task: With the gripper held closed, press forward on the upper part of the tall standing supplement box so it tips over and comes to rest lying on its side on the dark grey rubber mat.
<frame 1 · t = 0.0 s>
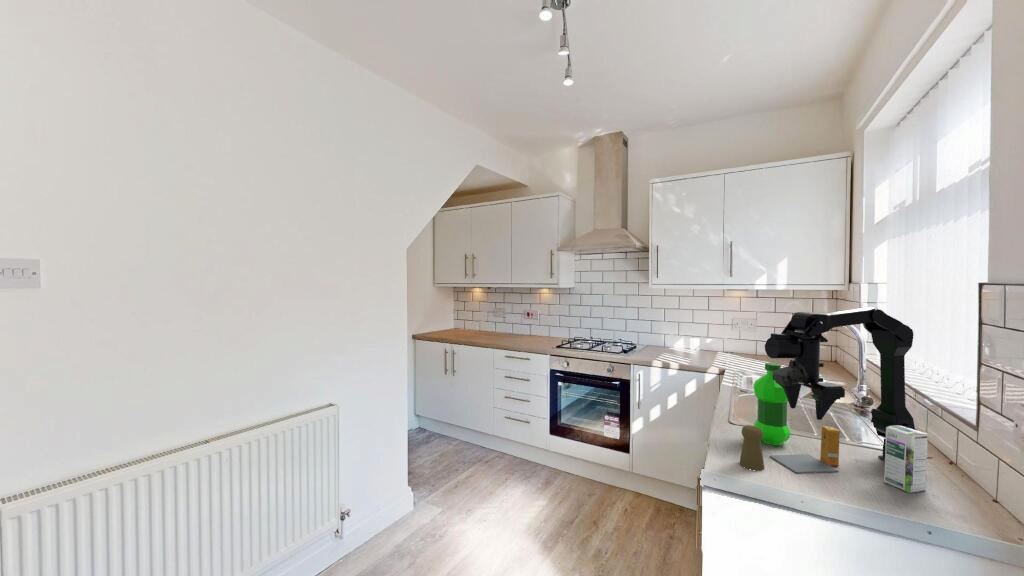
hand: (805, 413, 111), 15 cm above the countertop, tool pointing down, fingers open, 9 cm apart
rubber mat: (802, 464, 113), on the countertop
plastic bottle: (771, 442, 128), on the countertop
supplement box: (829, 463, 113), on the countertop
cork: (751, 466, 112), on the countertop
syrup box: (904, 487, 101), on the countertop
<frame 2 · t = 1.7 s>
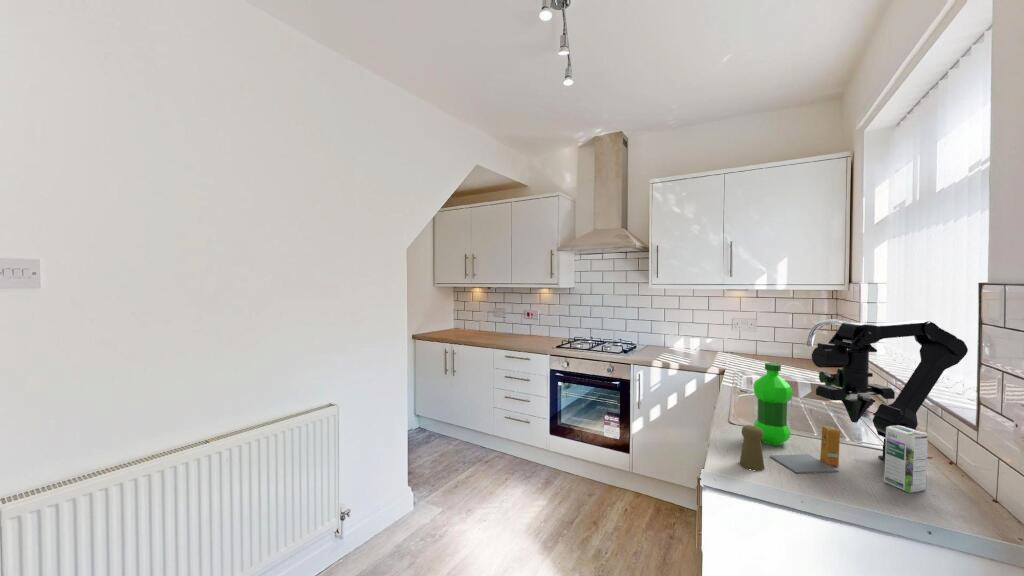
hand: (854, 422, 113), 12 cm above the countertop, tool pointing down, fingers closed
nothing on the countertop moved.
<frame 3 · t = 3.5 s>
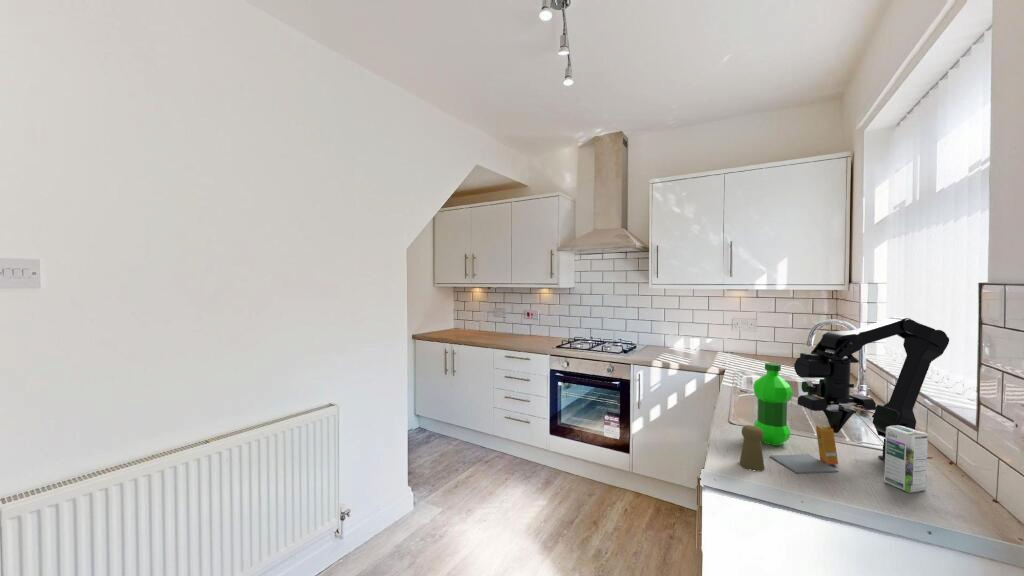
hand: (835, 432, 113), 9 cm above the countertop, tool pointing down, fingers closed
supplement box: (829, 462, 113), on the countertop, touching gripper
everything else where it was.
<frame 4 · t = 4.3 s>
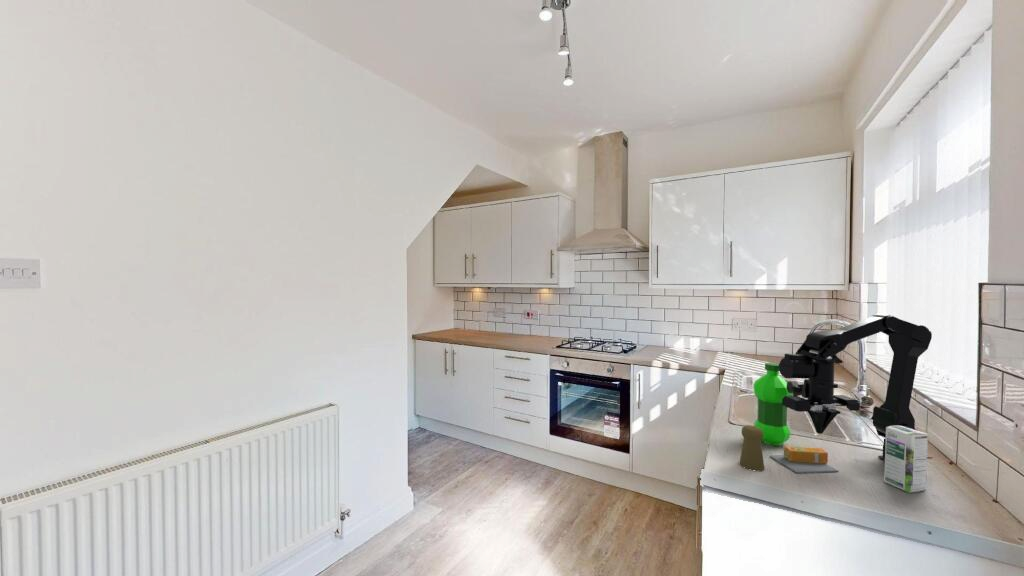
hand: (819, 433, 113), 9 cm above the countertop, tool pointing down, fingers closed
supplement box: (824, 455, 113), point 2 cm above the countertop, touching rubber mat
everything else where it was.
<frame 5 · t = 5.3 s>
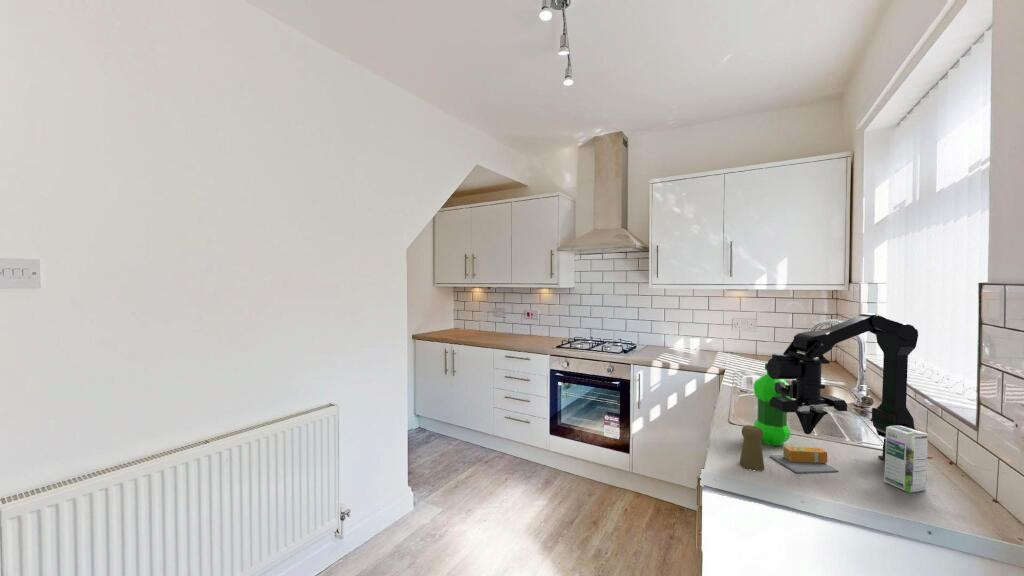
hand: (807, 433, 112), 9 cm above the countertop, tool pointing down, fingers closed
nothing on the countertop moved.
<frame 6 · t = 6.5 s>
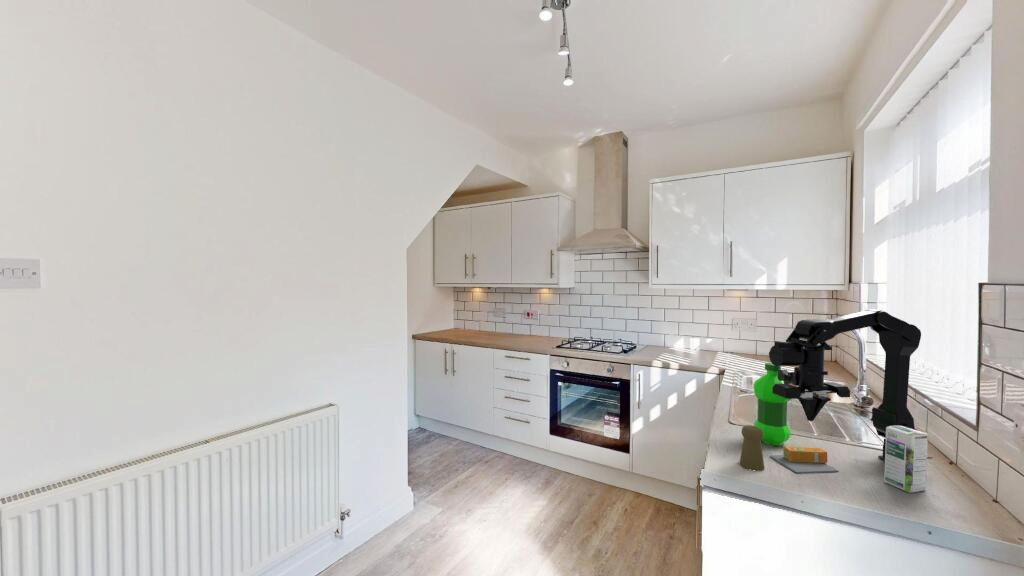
hand: (810, 420, 112), 12 cm above the countertop, tool pointing down, fingers closed
nothing on the countertop moved.
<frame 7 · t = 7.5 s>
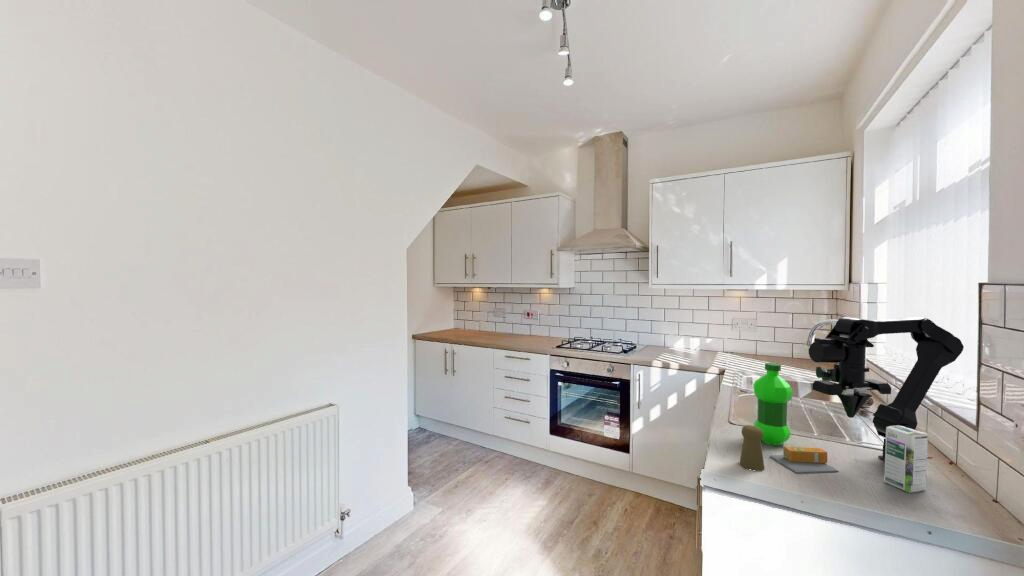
hand: (850, 417, 113), 13 cm above the countertop, tool pointing down, fingers closed
nothing on the countertop moved.
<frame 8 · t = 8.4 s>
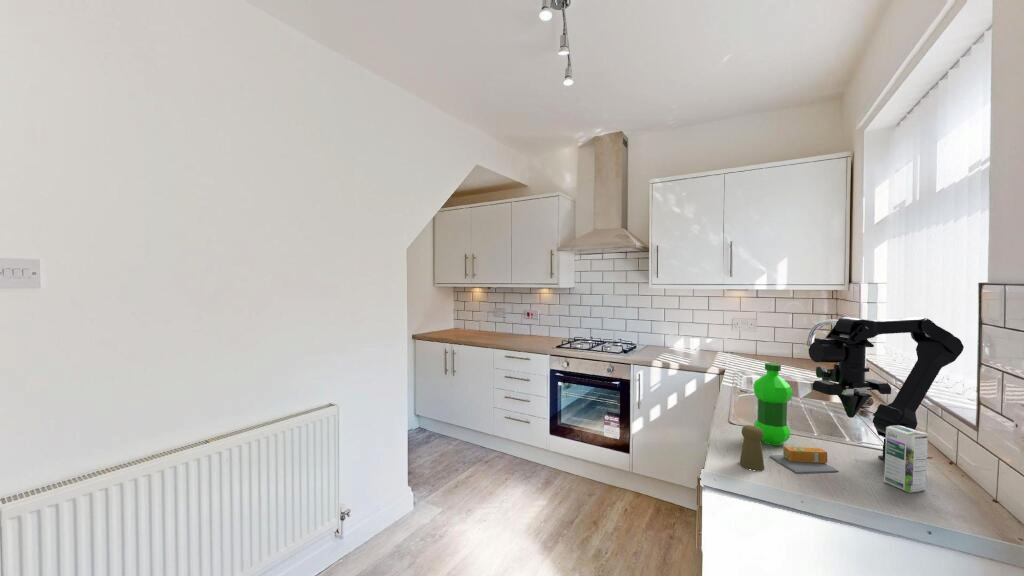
hand: (850, 417, 113), 13 cm above the countertop, tool pointing down, fingers closed
nothing on the countertop moved.
at the end: supplement box tilted 92°; supplement box inside the target area (1.0 cm from its centre), point 2.2 cm above the countertop; supplement box touching rubber mat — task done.
